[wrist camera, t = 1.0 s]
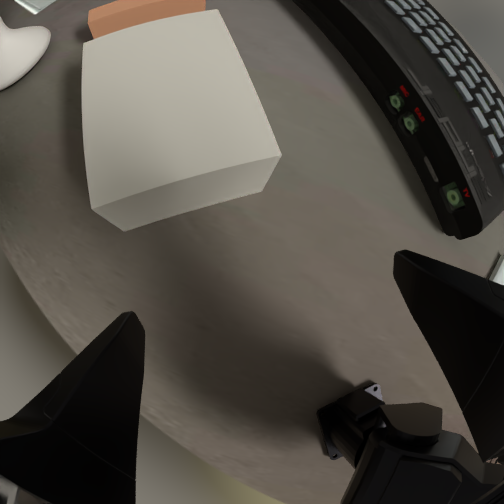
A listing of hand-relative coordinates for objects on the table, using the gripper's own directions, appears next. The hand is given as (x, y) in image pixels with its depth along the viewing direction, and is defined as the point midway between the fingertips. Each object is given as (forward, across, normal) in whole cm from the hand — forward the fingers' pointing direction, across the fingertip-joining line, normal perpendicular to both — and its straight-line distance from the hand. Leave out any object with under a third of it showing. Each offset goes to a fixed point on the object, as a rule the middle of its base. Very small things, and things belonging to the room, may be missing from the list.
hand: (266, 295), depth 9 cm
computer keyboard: (+31, -29, -9) cm, 43 cm away
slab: (+20, +5, -5) cm, 21 cm away
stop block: (+28, +7, -19) cm, 35 cm away
